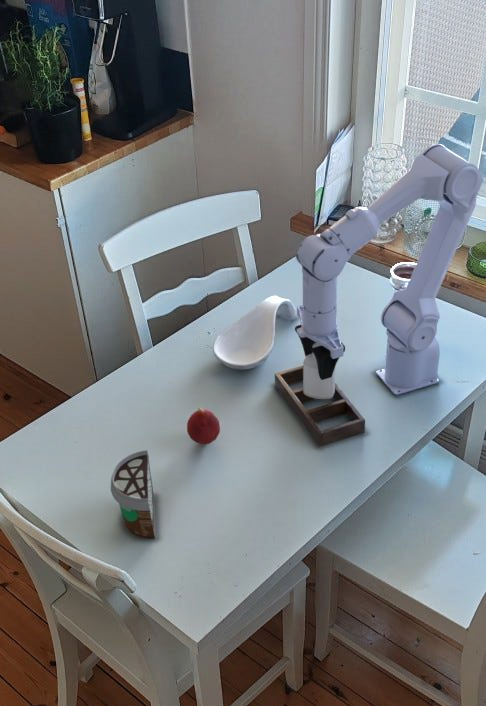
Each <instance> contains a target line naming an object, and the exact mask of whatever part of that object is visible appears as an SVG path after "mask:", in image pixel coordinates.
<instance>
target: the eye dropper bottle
mask: <svg viewBox="0 0 486 706" xmlns="http://www.w3.org/2000/svg"><path fill="white" fill-rule="evenodd" d="M318 346H322V345H320V344H318V343H315V344H314V345H313V347H312V348H314V347H318ZM302 363H303V364H302V366H303V381H302V385H303V386H302V388H303V393H304V394H305V395H306V396H309V397H311V398H315V400H331V399H333V398H332V397H333V395H334V393H335V383H336V368H335V369H334V372H333V375H332V377H331V378H327V379H324V380H321V379H320V377H319V373H318V365H317V361H316V358H315V356H314V354H313V352H312V354H309V355H307V356H306V357H305V356H304V359H303V362H302Z"/></svg>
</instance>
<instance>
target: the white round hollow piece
mask: <svg viewBox="0 0 486 706" xmlns="http://www.w3.org/2000/svg"><path fill="white" fill-rule="evenodd" d="M415 266H416V263H415V262H400V263H397V264H395V265H394V266H392V268H390V273H391V275H390V278H389V284H390V287H391V289H392V290H393V291H394V293H395V292H396V291H399V290H403V289H406V287H407V285H408V283H409V280H410V278H411V275H412V273H413V271H414V268H415Z"/></svg>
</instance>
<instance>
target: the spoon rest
mask: <svg viewBox="0 0 486 706" xmlns="http://www.w3.org/2000/svg"><path fill="white" fill-rule="evenodd" d="M276 315H278V316H281V317H284V318H288V319H292V320H293V319H296V318H298V316H297V309H296V307H295V305H294V303H293V302H292V301H291V300H290V299H288V298H281V297H279V296H278V295H270V296H269V297H266V298H265V299H264V300H262V301H261V302H260V303H259V304H257V306H256V307H254V308H252V310H251V311H249V312H248V313H246V314H245V315H244V316H242V317H240V318H239V319H238V320H236V321H235V322H234V323H232V324H231V325H230V326H228V327H227V328H226V329H225V330H223V331H222V332H220V334H219V335H218V336H217V337H216V338H215V340H214V342H213V344H212V352H213V355H214V357H215V358H216V360H218V361H219V362H220V363H221V364H222V365H224V366H225V367H228V368H231V369H234V370H250V369H254V368H257V367H258V366H260V365H262V364H263V363H264V362H265V361H266V360H267V359H268V357H269V356H270V355H271V353H272V350H273V347H274V343H275V332H276V331H275V330H276V327H275V326H276Z"/></svg>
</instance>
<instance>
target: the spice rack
mask: <svg viewBox="0 0 486 706" xmlns="http://www.w3.org/2000/svg"><path fill="white" fill-rule="evenodd" d="M300 382H303V365H300V366H297V367H292V368H290V369H286V370H283V371H279V372H276V373H275V372H274V387H275V388H276V389H277V391H278V392H279V394H280V395H281V396H282V398H283V399H284V401H285V402H286V403H287V405H288V406H289V408H290V409H291V411H292V412H293V413H294V414H295V416H296V417H297V419H298V420H299V422H300V423H301V425H302V426H303V427H304V428H305V430H306V431H307V432H308V434H309V436H310V437H311V438H312V440H313V441H314V442H315V444H316V445H317V446H318V448H320V447H323V446H327V445H330V444H334V443H336V442H340V441H343V440H346V439H350V438H353V437H356V436H359V435H362V434H365V432H366V418H364V417H363V415H362V414H361V413H360V412H359V410H358V409H357V408H356V406H355V405H354V404H353V403H352V401H351V400H350V399H349V398H348V396H347V394H345V393H344V391H342V389H341V388H340V387H339V386H338V384H337V382H335V393H334V395H333V397H332V398H331V399H332V400H333V402H330V403H329V402H328V403H326V404H323V405H318V406H316V407H312V408H309V409H306V408H305V407H304V405H303V404H304V403H308V402H312V401H315V400H316V399H315V398H311V397H309V396H306V395H305V394H304V393H303V387H301V388H300V387H299V388H297V389H293V390H292V389H291V387H290V385H292V384H296V383H300ZM343 415H345V416H346V417H347V418H348V420H349V421H348V422H345V423H341V424H338V425H335V426H331V427H329V428H325V429H322V430H321V428H320V427H319V425H318V424H317V423H320V422H323V421H327V420H330V419H333V418H337V417H340V416H343Z"/></svg>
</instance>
